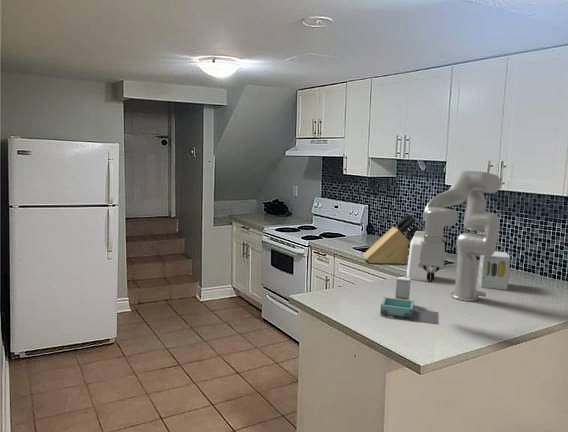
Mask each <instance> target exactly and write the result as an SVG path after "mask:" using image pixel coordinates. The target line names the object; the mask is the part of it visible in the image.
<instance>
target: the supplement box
mask: <svg viewBox="0 0 568 432" xmlns="http://www.w3.org/2000/svg"><path fill="white" fill-rule="evenodd" d="M510 264H511V256H510V255H509V254H508V253H507V252H505V251H496V250H495V252H494V254H493V255H492V256H482V255H479V262H478V272H477V282H478V284H479V287H480V288H483V289H484V288H486V289H494V290H495V289H496V290H505V291H507V290H508V284H509V278H510V277H509V275H510V266H511V265H510Z"/></svg>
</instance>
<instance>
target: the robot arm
mask: <svg viewBox="0 0 568 432" xmlns="http://www.w3.org/2000/svg"><path fill="white" fill-rule="evenodd" d="M500 188H501V179H500V176H498V175H497V174H493V173H490V172H487V171H475V170H463V171H461V172H460V173H459V174H458V175H457V176H456V177H455V179H454V181H453V182H452V184H451V186H450V187H449V189H448V190H445V191H443V192H441V193H439V194H437V195H436V196H434V197H432V198H431V199H430V200H429V201H428V203H427V204H426V206H425V208H424V210H423V212H422V220H423V222H424V231H423V232H424V241H422V243H421V248H420V256H419V264H418V267H421V268H424V270H425V271H426V272H427V280H428V281H427V282H428V283H433V281H435V274H436V273H437V272H438V271H439V270H440V271H441V270H445V259H446V258H445V256H446V249H445V248H446V246H445V242H446V241H447V237H445V236H444V229H445V227H453V226H454V225H456V224H457V222H458V219H459V215H458V212H457V211H456V210H454V209H451V208H449V207H452V206H457V205H461V204H464V203H465V202H466V201H467V202H466V207H465V214H464V219H463V226H464V229H465V230H468V231H472V232H473V233H470V232H462V233H460V234H459V235H458V236H457V238H456V249H457V250H456V251H457V253H456V254H457V255H456V256H457V258H456V272H455V282H454V291H452V292H451V293H450V296H451V298H453V299H456V300H459V301H465V302H475V301H478V300H479V298H480V297H486V296H487V293H486V292H483V291H479V290H477V282H478V272H479V262H478V259H477V256H476V255H478V256H480V255H482V256H492V255H493V254H494V252H495V251H496V248H497V243H498V236H499V231H500V224H501V223H500V222H501V221H500V220H501V219H500V217H499V215H498V214H497V213H493V212H486V207H487V199H486V198H485V196H484V194H483V193H487V194H495V193H497V192H498V191H499V190H500ZM447 207H448V208H447ZM474 232H478V233H479V232H480V233H485V235H484V234H478V233H474ZM429 266H431V267H432V269H431V272H430V269H429ZM430 276H431V280H430Z"/></svg>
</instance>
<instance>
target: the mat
mask: <svg viewBox="0 0 568 432" xmlns="http://www.w3.org/2000/svg"><path fill="white" fill-rule="evenodd" d="M382 316H383V318H389V319H396V320H405V321H410V322H419V323H427V324H433V325H439V312H438V311H432V310H423V309H415V308H413V314H412V318H408V319H406V318H405V317H398V316H390V315H386V316H384V315H382Z"/></svg>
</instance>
